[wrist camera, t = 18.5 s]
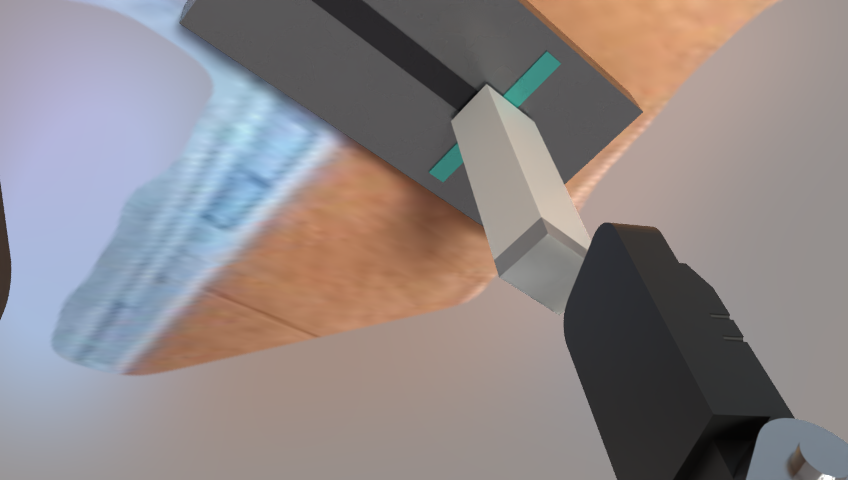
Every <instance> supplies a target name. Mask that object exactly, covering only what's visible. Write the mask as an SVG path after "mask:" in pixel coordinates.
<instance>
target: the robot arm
mask: <svg viewBox="0 0 848 480" xmlns="http://www.w3.org/2000/svg"><path fill="white" fill-rule="evenodd" d="M10 283H11V258H10V250H9V243H8V235H7V228H6V221H5V214H4V206H3V199H2V192H1V184H0V319H1V317H2V314H3V312H4V309H5V307H6V303H7V300H8V296H9V290H10ZM729 316H730V314H729V312H728V311H727V309H726V308H725V306H724V304H723V303H722V301H721V300H720V298H719V296H718V295H717V293H716V292H715V290H714V289H713V287H711V286H710V285H709V284H708V283H707V282H706V281H705V280H704V279H703V278H701V277H700V276H699V275H698V274H697V273H696V272H695V271H694V270H692V269H691V268H690V267H689V266H688V265H687V264H684V263H679V262H678V260H677V259H676V257H675V256H674V254H673V252H672V250H671V249H670V247H669V245H668V244H667V242H666V240H665V239H664V237H663V235H662V234H661V232H660V231H659V230H658V229H657V228H655V227H650V226H638V225H628V224H617V223H603V224H602V225H600V227H599V228H598V229H597V231H596V232H595V234H594V236H593V239H592V241H591V244H590V246H589V249H588V251H587V253H586V256H585V258H584V261H583V263H582V266H581V268H580V271H579V273H578V276H577V278H576V280H575V283H574V285H573V288H572V290H571V293H570V295H569V298H568V300H567V303H566V307H565V313H564V336H565V340H566V344H567V347H568V349H569V352H570V355H571V357H572V360H573V363H574V365H575V368H576V371H577V373H578V376H579V379H580V381H581V384H582V387H583V389H584V392H585V395H586V398H587V400H588V403H589V405H590V408H591V411H592V414H593V416H594V419H595V422H596V424H597V427H598V430H599V432H600V435H601V438H602V440H603V443H604V445H605V448H606V450H607V454H608V456H609V459H610V462H611V464H612V467H613V470H614V472H615V475H616V478H617V480H848V444H847V443H846V442H845V441H844V440H842V439H841V438H839V437H838V436H836V435H835V434H833V433H832V432H830V431H828V430H826V429H824V428H822V427H820V426H818V425H815V424H813V423H810V422H807V421H804V420H799V419H795V418H794V416H793V415H792V413H791V411H790V410H789V408H788V407H787V405H786V403H785V402H784V400H783V399H782V397H781V396H780V394H779V392H778V391H777V389H776V387H775V386H774V385H773V383H772V381H771V380H770V378H769V376H768V375H767V373H766V372H765V370H764V369H763V367H762V365H761V364H760V362H759V360H758V359H757V357H756V356H755V354H754V352H753V351H752V349H751V348H750V346H749V345H748V343H747V342H743V335H742V333H741V332H740V330H739V328H738V327H737V325H736V324H735V322H734V320H730V319H729Z"/></svg>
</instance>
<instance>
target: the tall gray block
mask: <svg viewBox="0 0 848 480" xmlns="http://www.w3.org/2000/svg"><path fill="white" fill-rule="evenodd" d="M451 123H452V126H453V130H454V133H455V136H456V139H457V142H458V146H459V149H460V152H461V155H462V159H463V162H464V165H465V168H466V171H467V175H468V178H469V181H470V184H471V188H472V191H473V194H474V197H475V200H476V204H477V207H478V210H479V213H480V217H481V220H482V223H483V226H484V229H485V233H486V236H487V239H488V242H489V246H490V249H491V252H492V255H493V259H494V262H495V265H496V268H497V271H498V275H499V277H500V278H501V279H503V280H504V281H506V282H508V283H509V284H511V285H512V286H514V287H515V288H517V289H519V290H520V291H522V292H523V293H525V294H526V295H528V296H530V297H531V298H533V299H534V300H536V301H537V302H539V303H541V304H542V305H544V306H545V307H547V308H549V309H550V310H552V311H553V312H555V313H556V314H558V315H560V314H561V313H563V312H564V311H565V307H566V303H567V300H568V298H569V295H570V293H571V290H572V288H573V285H574V283H575V280H576V278H577V276H578V273H579V271H580V268H581V266H582V263H583V261H584V258H585V256H586V253H587V251H588V249H589V246H590V244H591V240H590V238H589V235H588V233H587V231H586V229H585V227H584V225H583V223H582V221H581V219H580V217H579V214H578V212H577V210H576V208H575V206H574V204H573V202H572V200H571V198H570V196H569V193H568V191H567V189H566V187H565V185H564V183H563V181H562V179H561V177H560V175H559V172H558V170H557V168H556V166H555V164H554V162H553V160H552V158H551V156H550V154H549V152H548V149H547V147H546V145H545V143H544V141H543V139H542V137H541V135H540V133H539V131H538V128H537V126H536V124H535V122H534V121H533V120H531V119H530V118H529V117H527V116H526V115H525V114H524V113H522V112H521V111H520V110H519V109H517V108H516V107H515V106H514V105H512V104H511V103H510V102H509V101H507V100H506V99H505V98H504V97H502V96H501V95H500V94H499V93H497V92H496V91H495V90H493V89H492V88H491V87H490V86H488V85H487V84H486V85H485V86H484V87H483V88H482V89H481V90H480V91H479V92H478V94H477V95H476V96H475V97H474V98H473V99H472V100H471V101H470V102H469V103H468V104H467V105H466V106H465V107H464V108H463V109H462V110H461V111H460V112H459V113H458V114H457V115H456V116H455V118H454V119H453V120H452V121H451Z"/></svg>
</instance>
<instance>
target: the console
mask: <svg viewBox="0 0 848 480" xmlns="http://www.w3.org/2000/svg"><path fill="white" fill-rule="evenodd" d="M180 24H182V25H183V26H185V27H186V28H188V29H189V30H191V31H192V32H194V33H195V34H197V35H198V36H200V37H201V38H203V39H204V40H206V41H207V42H208V43H210V44H211V45H213V46H214V47H216V48H217V49H219V50H220V51H222V52H223V53H225V54H226V55H228V56H229V57H231V58H232V59H234V60H235V61H237V62H238V63H240V64H241V65H243V66H244V67H246V68H247V69H249V70H250V71H252V72H253V73H255V74H256V75H258V76H259V77H261V78H262V79H264V80H265V81H267V82H268V83H270V84H271V85H273V86H274V87H276V88H277V89H279V90H280V91H282V92H283V93H285V94H286V95H288V96H289V97H291V98H292V99H294V100H295V101H297V102H298V103H300V104H301V105H303V106H304V107H306V108H307V109H309V110H310V111H311V112H313V113H314V114H316V115H317V116H319V117H320V118H322V119H323V120H325V121H326V122H328V123H329V124H331V125H332V126H334V127H335V128H337V129H338V130H340V131H341V132H343V133H344V134H346V135H347V136H349V137H350V138H352V139H353V140H355V141H356V142H358V143H359V144H361V145H362V146H364V147H365V148H367V149H368V150H370V151H371V152H373V153H374V154H376V155H377V156H379V157H380V158H382V159H383V160H385V161H386V162H388V163H389V164H391V165H392V166H394V167H395V168H397V169H398V170H400V171H401V172H403V173H404V174H406V175H407V176H409V177H410V178H412V179H413V180H415V181H416V182H417V183H419V184H420V185H422V186H423V187H425V188H426V189H428V190H429V191H431V192H432V193H434V194H435V195H437V196H438V197H440V198H441V199H443V200H444V201H446V202H447V203H449V204H450V205H452V206H453V207H455V208H456V209H458V210H459V211H461V212H462V213H464V214H465V215H467V216H468V217H470V218H471V219H473V220H474V221H476V222H477V223H479V224H480V225H482V226H483V223H482V220H481V217H480V213H479V210H478V207H477V204H476V200H475V197H474V194H473V191H472V188H471V184H470V181H469V178H468V175H467V171H466V168H465V165H464V162H463V159H462V155H461V152H460V149H459V146H458V142H457V139H456V136H455V133H454V130H453V126H452V123H451V121H452V120H453V119H454V118H455V116H456V115H457V114H458V113H459V112H460V111H461V110H462V109H463V108H464V107H465V106H466V105H467V104H468V103H469V102H470V101H471V100H472V99H473V98H474V97H475V96H476V95H477V94H478V92H479V91H480V90H481V89H482V88H483V87H484V86H485V85H486V84H487V85H488V86H490V87H491V88H492V89H493V90H495V91H496V92H497V93H499V94H500V95H501V96H502V97H504V98H505V99H506V100H507V101H509V102H510V103H511V104H512V105H514V106H515V107H516V108H517V109H519V110H520V111H521V112H522V113H524V114H525V115H526V116H527V117H529V118H530V119H531V120H533V121H534V122H535V124H536V126H537V128H538V131H539V133H540V135H541V137H542V139H543V141H544V143H545V145H546V147H547V149H548V152H549V154H550V156H551V158H552V160H553V162H554V164H555V166H556V168H557V170H558V172H559V175H560V177H561V179H562V181H563V183H564V184H565V183H567V182H568V181H569V180H570V179H571V178H572V177H573V176H574V175H575V174H576V173H577V172H578V171H580V170H581V169H582V168H583V167H584V166H585V165H586V164H587V163H588V162H589V161H590V160H592V159H593V158H594V157H595V156H596V155H597V154H598V153H599V152H600V151H601V150H602V149H603V148H605V147H606V146H607V145H608V144H609V143H610V142H611V141H612V140H613V139H614V138H615V137H616V136H618V135H619V134H620V133H621V132H622V131H623V130H624V129H625V128H626V127H627V126H628V125H630V124H631V123H632V122H633V121H634V120H635V119H636V118H637V117H638V116H639V115H640V114H641V113H643V111H642V110H641V108H640V107H639V105H638V104H637V103H636V101H635V100H634V98H633V97H632V95H631V94H630V93H629V92H628V91H627V90H626V89H625V88H624V87H623V86H622V85H620V84H619V83H618V82H617V81H616V80H615V79H614V78H613V77H612V76H610V75H609V74H608V73H607V72H606V71H605V70H604V69H603V68H602V67H600V66H599V65H598V64H597V63H596V62H595V61H594V60H593V59H591V58H590V57H589V56H588V55H587V54H586V53H585V52H584V51H583V50H581V49H580V48H579V47H578V46H577V45H576V44H575V43H574V42H573V41H571V40H570V39H569V38H568V37H567V36H566V35H565V34H564V33H563V32H561V31H560V30H559V29H558V28H557V27H556V26H555V25H554V24H553V23H551V22H550V21H549V20H548V19H547V18H546V17H545V16H544V15H542V14H541V13H540V12H539V11H538V10H537V9H536V8H535V7H534V6H532V5H531V4H530V3H529V2H528V1H527V0H188V1H187V3H186V4H185V6H184V10H183V13H182V17H181V20H180ZM483 227H484V226H483Z"/></svg>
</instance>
